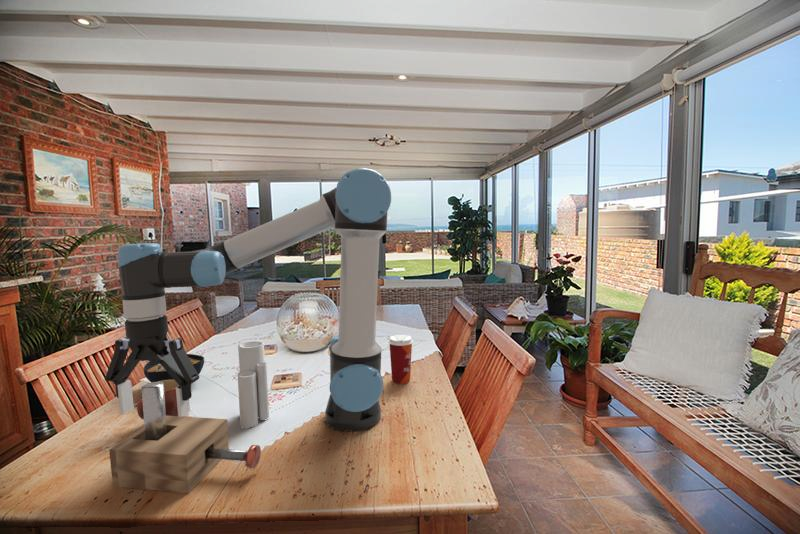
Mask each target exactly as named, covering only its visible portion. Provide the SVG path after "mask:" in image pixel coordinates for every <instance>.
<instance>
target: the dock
mask: <svg viewBox="0 0 800 534" xmlns="http://www.w3.org/2000/svg"><path fill="white" fill-rule="evenodd" d="M166 426H167V434H166V435H165V436H163V437H162V438H161V439H159V440H158V441H154V440H145V428H144V426H142V427H141V428H139V429H138V430H136V431H135V432H134V433H132V434H130V435H129V436H128V437H126V438H125V439H123V440H121V441H120V442H119V443H117V444H115V445H113V446H112V447H111V448H109V449H108V450H109V461H110V462H109V463H110V470H111V471H110V473H111V481H112V487H114V488H115V487H116V488H124V489H125V488H127V489H138V490H147V491H148V490H150V491H158V492H160V491H161V492H171V493H184V494H190V493H191V491H193V490H194V488H196V486H198V485H199V483H200V482H201V481H202V480H203V479H204V478H205V477H206V476H207V475H208V474H209V473H210V472H212V470H213V469H214V468H215V467H216V466H217V465H218V464H219V463H220V462H221V461H223V460H222V459H209V458H205V450H206V449H207V448H216V449H230V444H229V429H228V428H229V427H228V419H227V418H213V417H198V416H197V417H196V416H183V417H178V416H166Z"/></svg>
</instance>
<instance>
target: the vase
mask: <svg viewBox="0 0 800 534" xmlns="http://www.w3.org/2000/svg"><path fill="white" fill-rule="evenodd" d="M237 347H238V350H237V351H238V366H239V367H238V368H239V372H238V373H237V387H238V389H237V390H238V405H239V406H238V407H239V409H238V410H239V423H240V427H241V428H242V427H243V428H242V429H245V428H247V429H251V428H250V427H252V428H254V427H256V426H257V425H258V424H259V421H261V420H265V419H267V418H268V417H269V418H270V410H269V407H270V405H269V390H268V386H269V384H268V369H267V367H268V366H267V362H266V360H265V358H266V355H265V354H266V353H265V343H264V341H262V340H261V341H260V340H250V341H245V342H241V343H239V344H238V346H237ZM258 417H259V418H258ZM259 419H260V420H259ZM267 420H268V419H267ZM265 421H266V420H265ZM257 423H258V424H257ZM256 424H257V425H256ZM255 425H256V426H255ZM253 426H254V427H253Z"/></svg>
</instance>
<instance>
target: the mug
mask: <svg viewBox="0 0 800 534" xmlns="http://www.w3.org/2000/svg"><path fill="white" fill-rule="evenodd" d="M158 382H163V383H164V396H165V411H166V416H178V408H177V397H176V387H177V386H179V385H178V383H177V382H176V381H175V380H163V381H158ZM136 412H137V415H138V417H139V418H140V419H141V420H143V421H144V414H143V400H142V398H140V399H139V400H138V402H137V404H136Z"/></svg>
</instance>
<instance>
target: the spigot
mask: <svg viewBox="0 0 800 534" xmlns="http://www.w3.org/2000/svg"><path fill="white" fill-rule="evenodd" d="M141 395H142V396H141V397H142V398H141V399H142V400H143V414H144V420H143V427H144V428H145V440H154V441H158V440H159V439H161V438H162V437H163V436H165V435H166V434H167V426H166V411H165V396H164V383H163V382H147V383H146V384H143V385H142V386H141Z"/></svg>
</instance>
